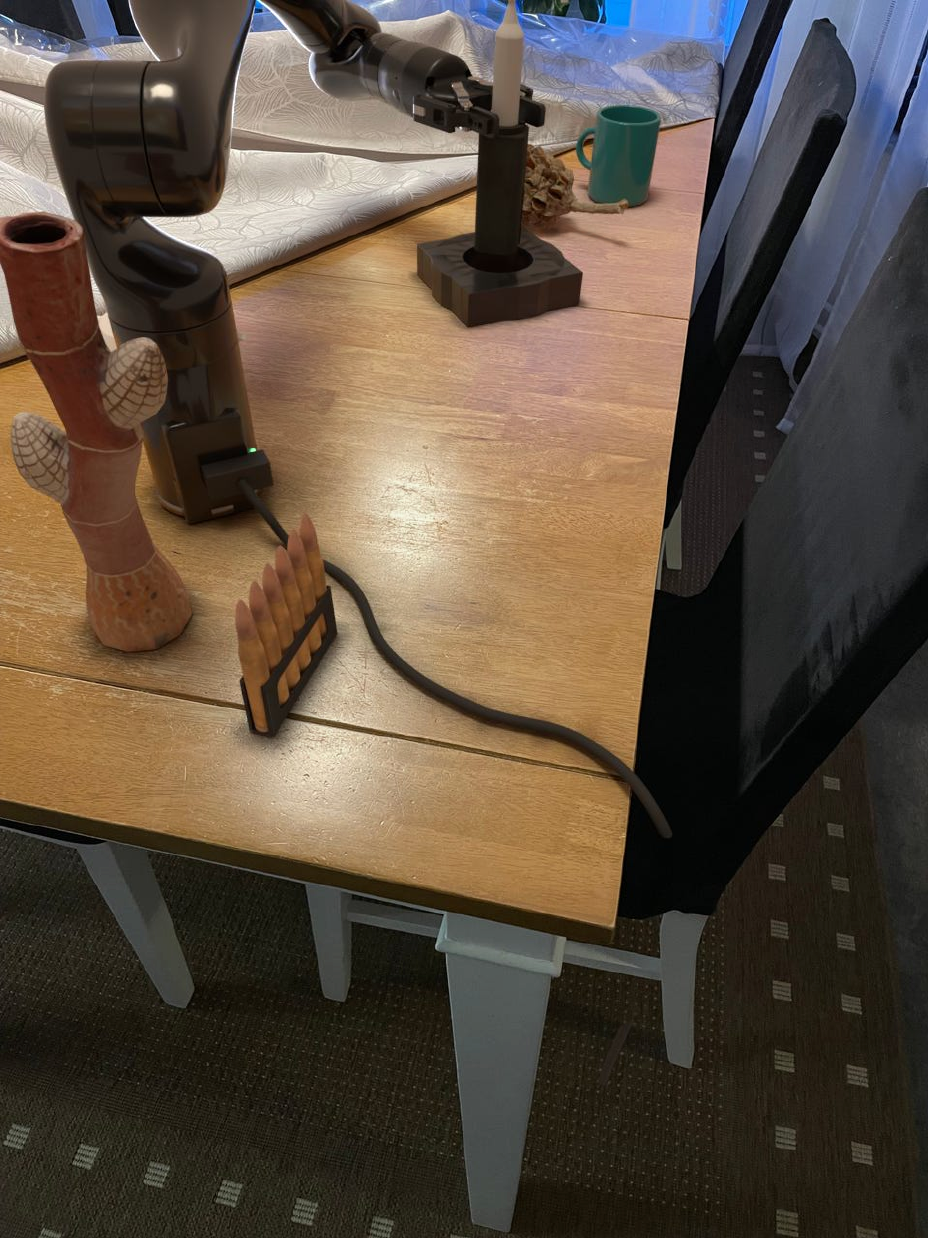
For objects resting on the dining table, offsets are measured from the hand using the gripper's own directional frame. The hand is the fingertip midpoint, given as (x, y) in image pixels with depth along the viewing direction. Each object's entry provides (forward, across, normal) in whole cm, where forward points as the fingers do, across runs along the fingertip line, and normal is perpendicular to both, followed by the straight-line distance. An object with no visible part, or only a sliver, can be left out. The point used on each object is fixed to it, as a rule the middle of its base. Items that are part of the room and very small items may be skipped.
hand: (519, 121), depth 94 cm
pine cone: (-12, +19, +20) cm, 30 cm away
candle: (-2, 0, +14) cm, 14 cm away
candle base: (-2, 0, +19) cm, 20 cm away
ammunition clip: (+37, -53, +19) cm, 68 cm away
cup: (-16, +34, +20) cm, 43 cm away
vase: (+25, -58, +19) cm, 67 cm away
